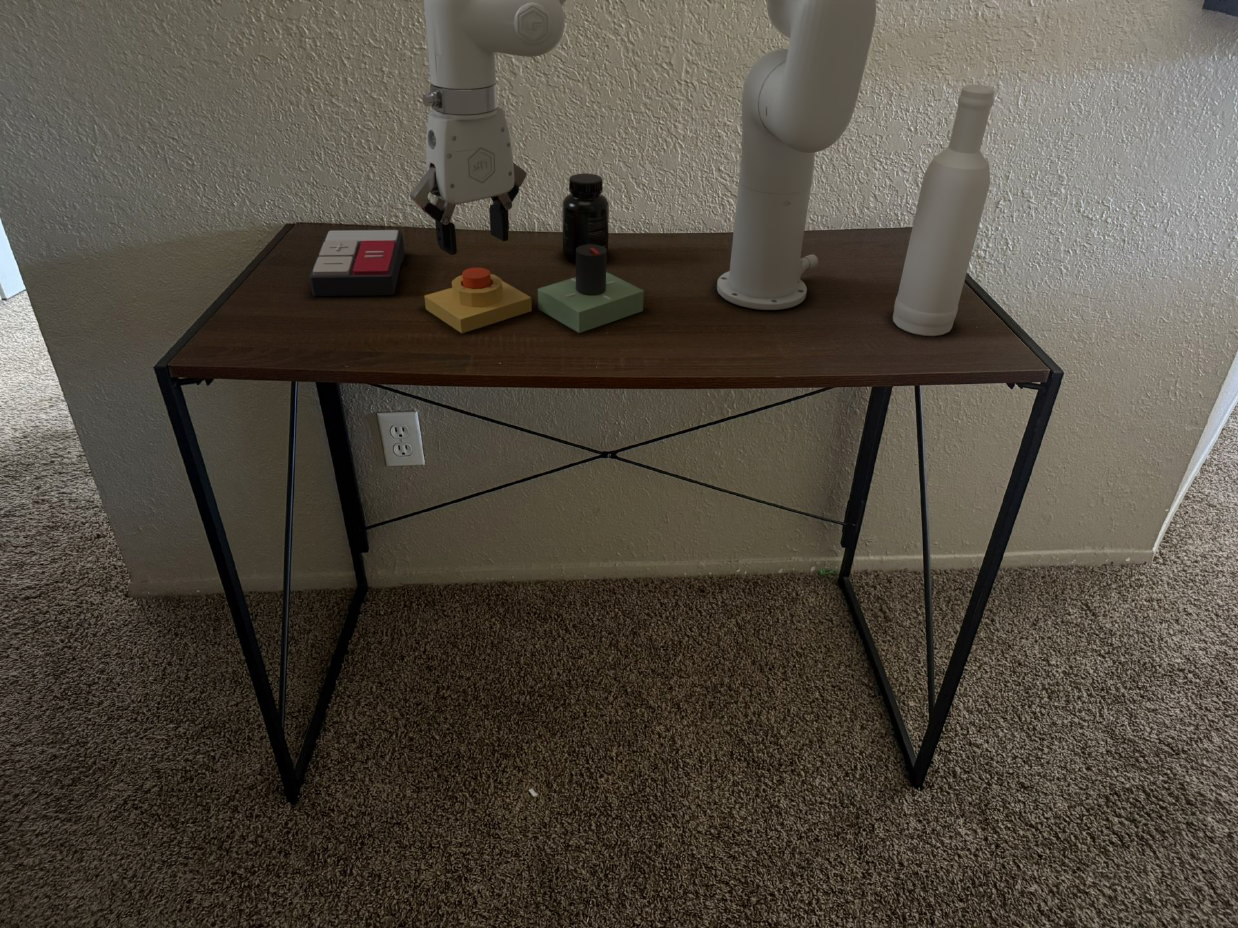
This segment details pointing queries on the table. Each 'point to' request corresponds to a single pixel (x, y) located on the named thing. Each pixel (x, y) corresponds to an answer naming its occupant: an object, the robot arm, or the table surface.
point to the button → (476, 278)
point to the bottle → (946, 222)
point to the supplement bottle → (584, 215)
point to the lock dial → (591, 269)
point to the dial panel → (590, 303)
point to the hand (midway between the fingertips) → (474, 243)
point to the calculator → (358, 263)
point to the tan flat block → (477, 304)
